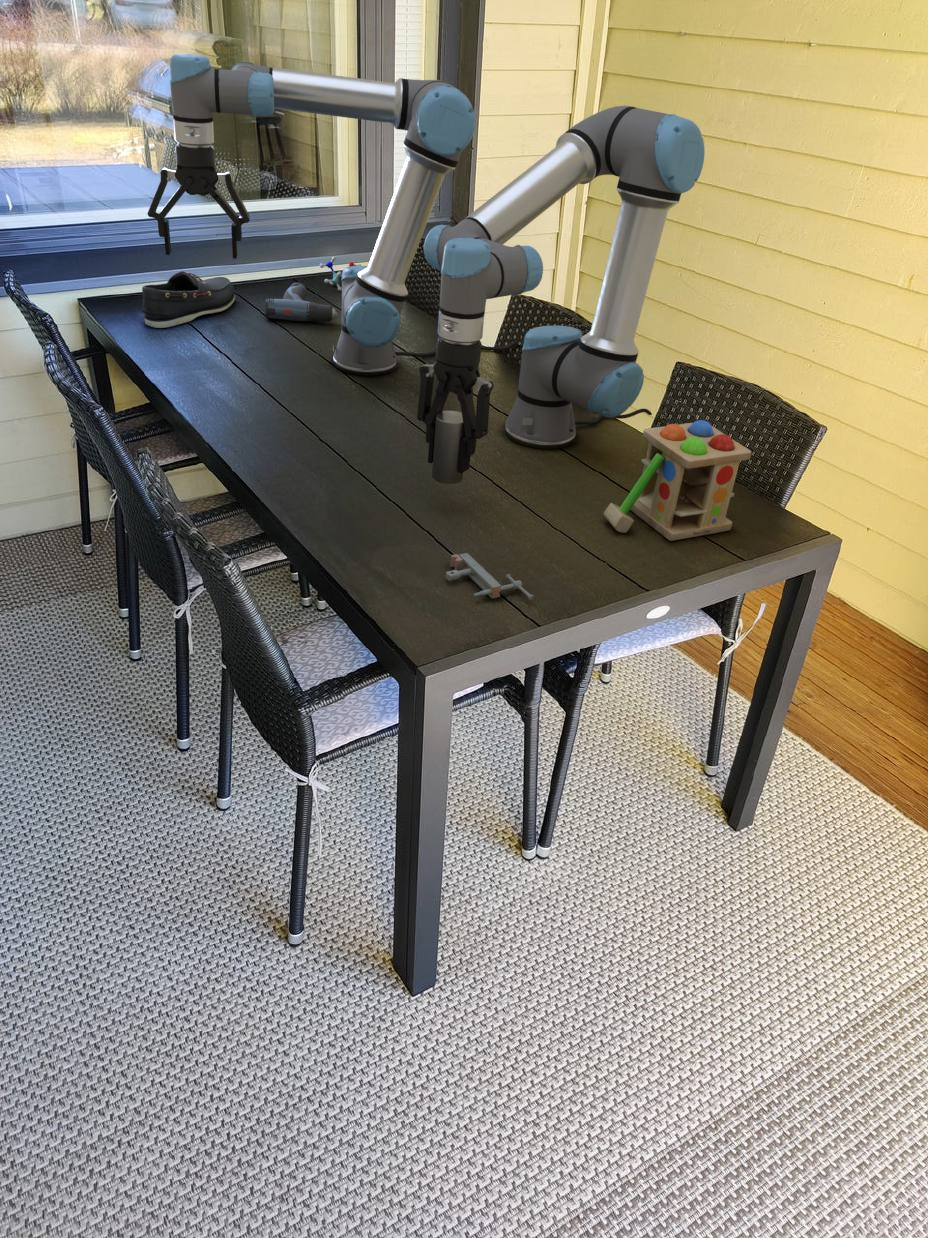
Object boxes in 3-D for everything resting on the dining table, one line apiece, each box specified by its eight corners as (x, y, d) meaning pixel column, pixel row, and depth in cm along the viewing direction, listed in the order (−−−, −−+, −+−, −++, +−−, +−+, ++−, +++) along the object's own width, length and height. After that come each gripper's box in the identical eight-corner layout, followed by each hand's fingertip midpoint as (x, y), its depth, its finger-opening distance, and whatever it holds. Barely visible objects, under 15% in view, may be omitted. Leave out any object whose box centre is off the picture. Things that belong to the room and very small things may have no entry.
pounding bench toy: (630, 549, 173) (650, 456, 163) (588, 512, 183) (603, 423, 173) (732, 530, 182) (756, 441, 172) (686, 496, 193) (706, 410, 183)
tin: (464, 472, 179) (470, 412, 173) (460, 485, 175) (466, 424, 168) (434, 468, 180) (438, 408, 173) (429, 481, 175) (434, 420, 169)
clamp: (435, 558, 161) (487, 546, 165) (434, 569, 162) (486, 557, 167) (482, 605, 150) (536, 591, 155) (480, 617, 152) (534, 603, 156)
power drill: (344, 304, 276) (335, 327, 259) (277, 298, 275) (264, 321, 258) (344, 285, 273) (335, 306, 256) (277, 279, 272) (264, 300, 255)
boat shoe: (253, 306, 269) (251, 267, 264) (162, 330, 245) (157, 287, 240) (219, 297, 275) (216, 259, 269) (126, 320, 251) (121, 278, 245)
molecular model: (352, 283, 281) (340, 248, 280) (324, 295, 285) (312, 261, 283) (368, 285, 291) (357, 252, 290) (341, 297, 295) (330, 265, 294)
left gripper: (126, 142, 189) (137, 256, 201) (258, 151, 193) (261, 262, 204) (132, 136, 195) (143, 246, 207) (260, 145, 199) (263, 253, 211)
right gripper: (400, 330, 164) (393, 457, 177) (497, 357, 157) (483, 487, 170) (424, 320, 169) (415, 444, 182) (519, 346, 162) (503, 473, 175)
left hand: (201, 255), depth 206 cm, fingers open, 13 cm apart
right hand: (448, 465), depth 176 cm, fingers closed on tin, 6 cm apart
